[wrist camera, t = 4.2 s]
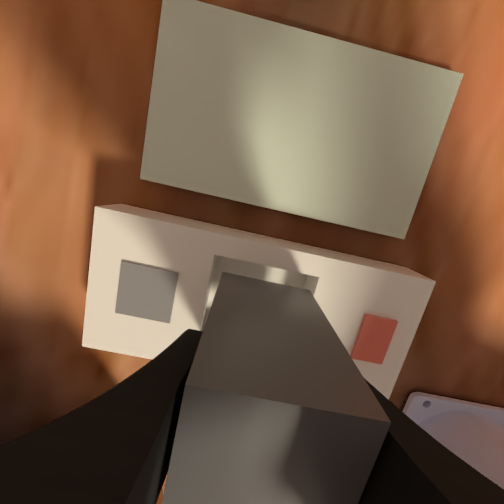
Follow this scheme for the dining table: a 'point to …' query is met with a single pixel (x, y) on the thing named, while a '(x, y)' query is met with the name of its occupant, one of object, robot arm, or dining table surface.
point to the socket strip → (245, 264)
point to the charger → (272, 405)
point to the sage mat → (292, 118)
